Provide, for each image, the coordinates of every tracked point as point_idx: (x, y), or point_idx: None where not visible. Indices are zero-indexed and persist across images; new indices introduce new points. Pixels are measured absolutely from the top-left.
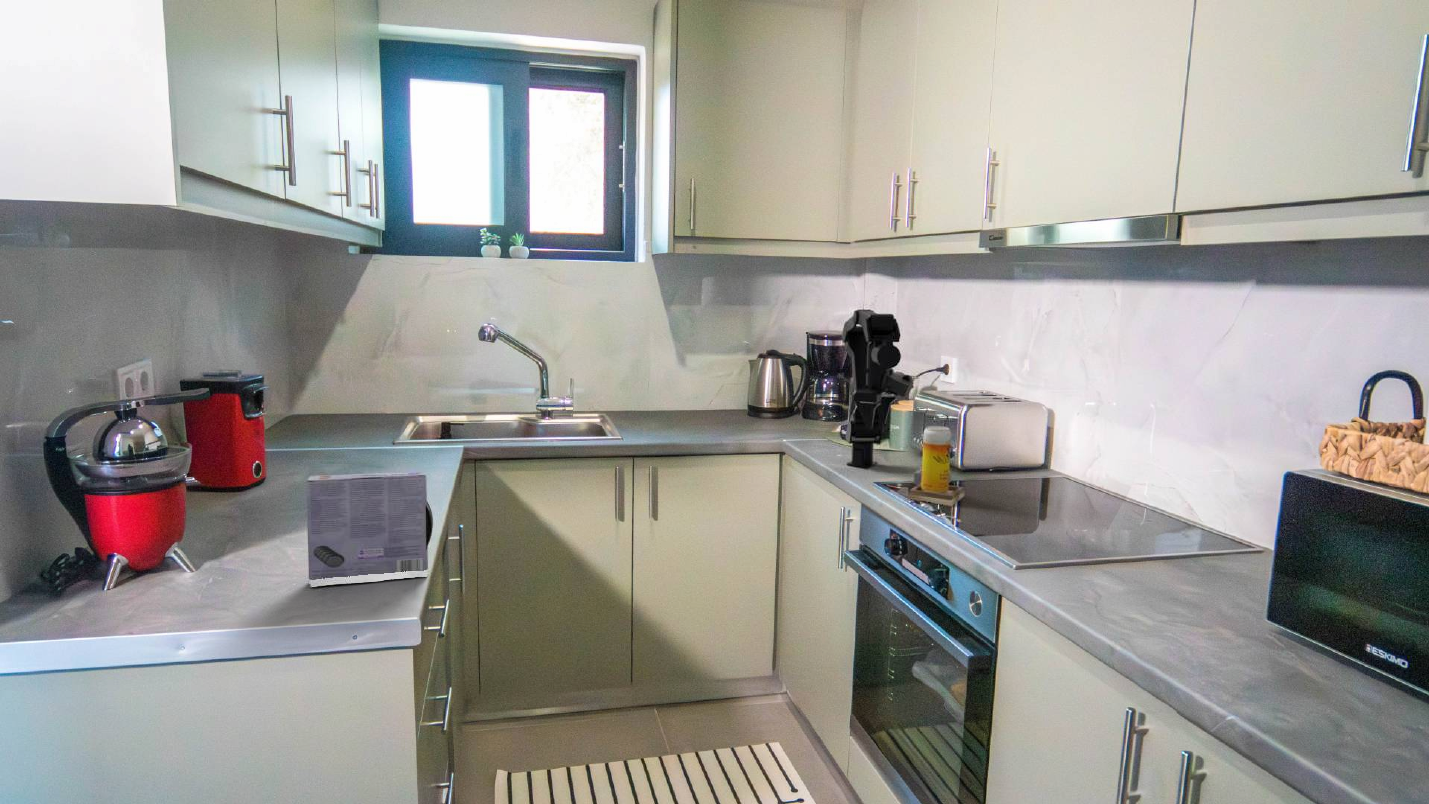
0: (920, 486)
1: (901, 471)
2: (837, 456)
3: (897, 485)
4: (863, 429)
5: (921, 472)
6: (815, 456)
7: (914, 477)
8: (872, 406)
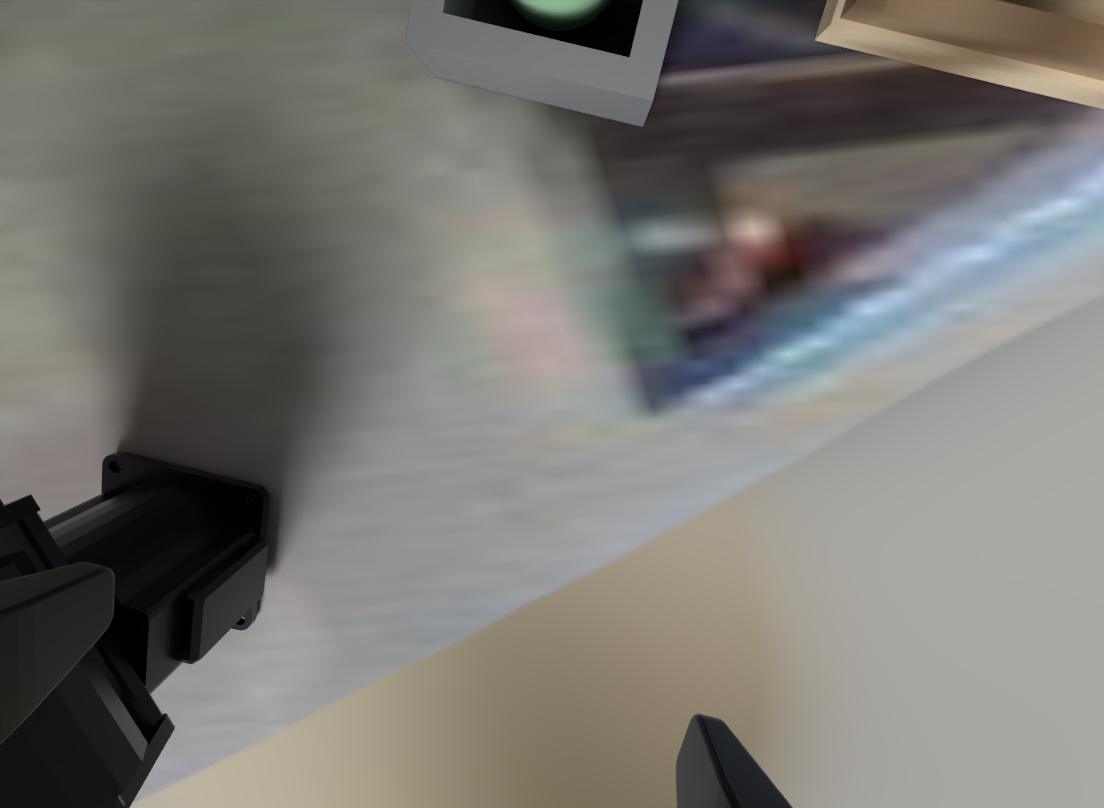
0: (1019, 8)
1: (252, 267)
2: None
3: (697, 245)
4: (68, 740)
5: (563, 46)
6: None
7: (649, 109)
8: None
